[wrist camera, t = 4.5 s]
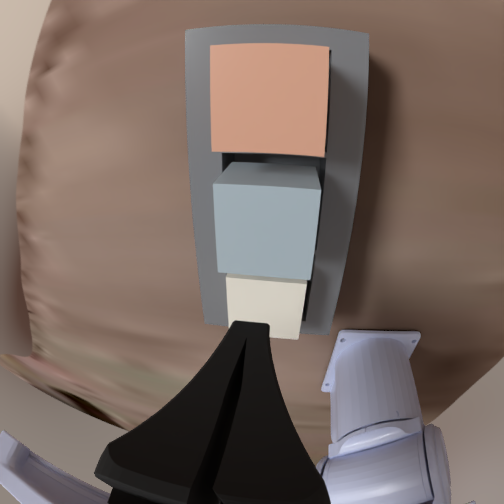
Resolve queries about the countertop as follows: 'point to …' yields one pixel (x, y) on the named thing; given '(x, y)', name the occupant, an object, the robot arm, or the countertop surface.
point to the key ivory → (267, 302)
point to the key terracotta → (269, 98)
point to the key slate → (266, 219)
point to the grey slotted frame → (282, 159)
